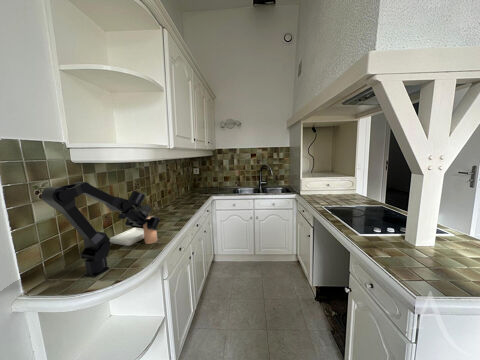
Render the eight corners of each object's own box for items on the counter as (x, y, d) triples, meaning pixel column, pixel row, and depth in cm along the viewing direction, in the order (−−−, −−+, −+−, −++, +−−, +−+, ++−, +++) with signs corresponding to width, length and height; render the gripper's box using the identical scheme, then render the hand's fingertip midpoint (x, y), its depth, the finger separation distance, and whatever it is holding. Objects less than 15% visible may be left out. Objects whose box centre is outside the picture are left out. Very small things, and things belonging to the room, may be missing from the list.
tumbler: (151, 244, 109) (149, 220, 107) (141, 243, 111) (139, 219, 109) (160, 239, 115) (158, 216, 113) (150, 238, 117) (148, 215, 116)
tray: (129, 245, 108) (128, 241, 108) (109, 242, 113) (109, 238, 112) (154, 233, 125) (153, 229, 124) (136, 230, 130) (135, 226, 129)
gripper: (155, 202, 103) (171, 216, 115) (127, 200, 109) (145, 214, 121) (145, 222, 97) (163, 235, 109) (115, 219, 103) (135, 232, 115)
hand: (151, 228), depth 113 cm, fingers closed on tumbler, 6 cm apart
